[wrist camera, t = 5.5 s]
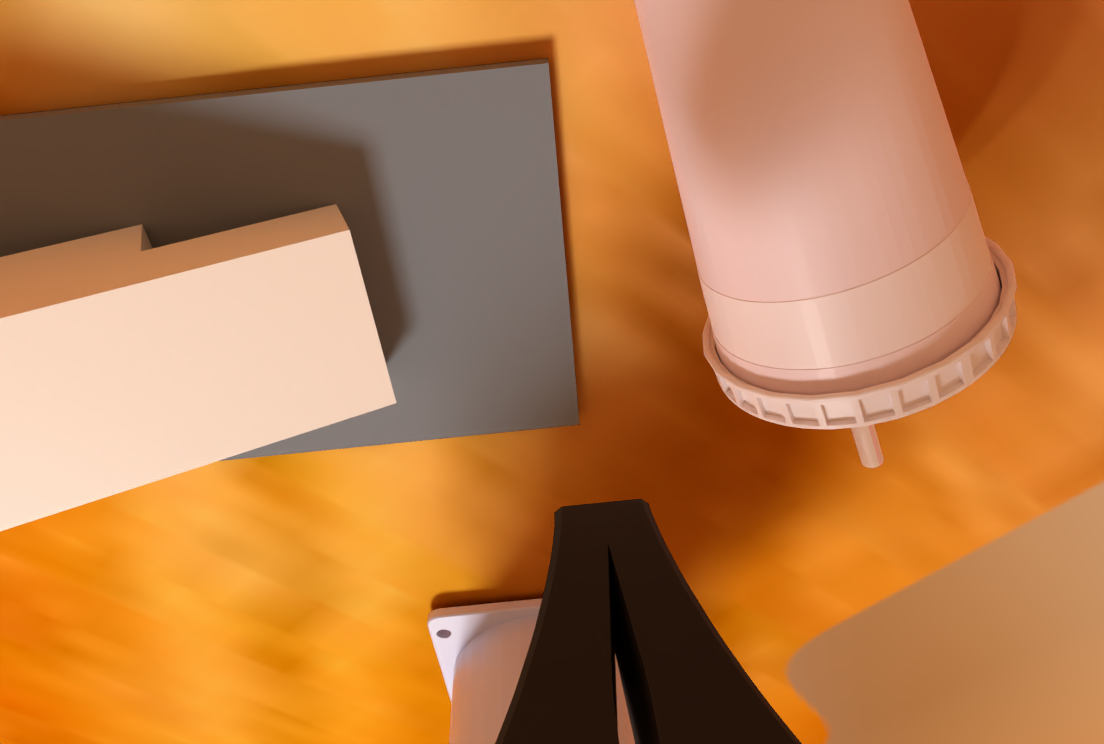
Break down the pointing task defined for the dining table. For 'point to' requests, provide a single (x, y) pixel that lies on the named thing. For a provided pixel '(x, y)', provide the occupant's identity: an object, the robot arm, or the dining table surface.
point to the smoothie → (825, 211)
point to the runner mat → (350, 221)
